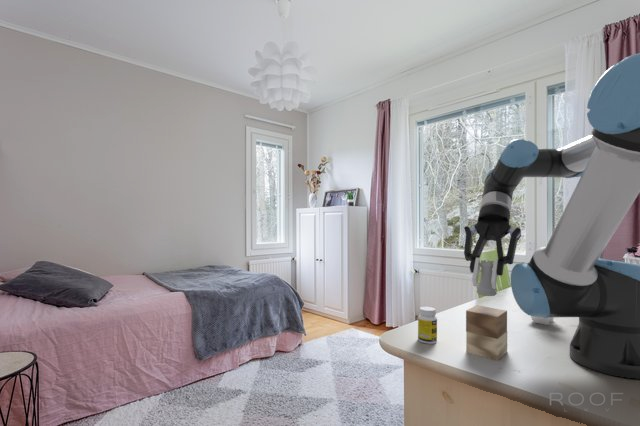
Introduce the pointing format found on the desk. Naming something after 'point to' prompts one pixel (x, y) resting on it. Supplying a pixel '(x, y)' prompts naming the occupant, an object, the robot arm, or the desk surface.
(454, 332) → the desk surface
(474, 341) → the beech block
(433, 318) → the supplement bottle
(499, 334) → the walnut block
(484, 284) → the rook chess piece
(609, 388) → the desk surface
